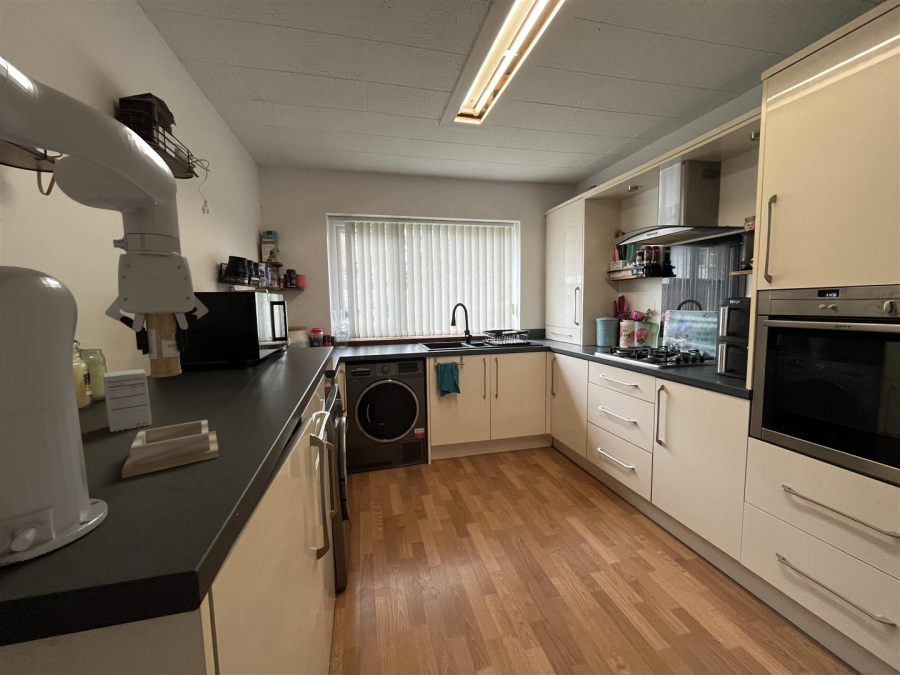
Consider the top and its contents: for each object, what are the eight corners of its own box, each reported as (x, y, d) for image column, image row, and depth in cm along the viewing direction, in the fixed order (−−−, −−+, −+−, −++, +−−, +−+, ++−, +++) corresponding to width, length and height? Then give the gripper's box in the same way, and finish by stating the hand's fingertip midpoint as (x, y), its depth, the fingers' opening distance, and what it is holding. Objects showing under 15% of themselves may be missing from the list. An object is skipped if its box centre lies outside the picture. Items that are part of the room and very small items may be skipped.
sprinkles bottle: (181, 375, 64) (174, 299, 63) (148, 379, 62) (140, 300, 61) (182, 372, 68) (176, 300, 67) (151, 375, 66) (144, 300, 64)
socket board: (218, 456, 65) (216, 433, 64) (122, 478, 57) (119, 452, 57) (215, 436, 75) (214, 416, 75) (133, 452, 68) (131, 430, 68)
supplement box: (109, 425, 85) (103, 372, 84) (150, 418, 90) (144, 368, 89) (108, 433, 79) (102, 376, 78) (152, 425, 84) (146, 371, 83)
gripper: (80, 241, 55) (94, 359, 57) (212, 248, 65) (221, 349, 66) (92, 248, 61) (104, 355, 63) (211, 254, 71) (218, 347, 72)
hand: (164, 351), depth 65 cm, fingers closed on sprinkles bottle, 4 cm apart
